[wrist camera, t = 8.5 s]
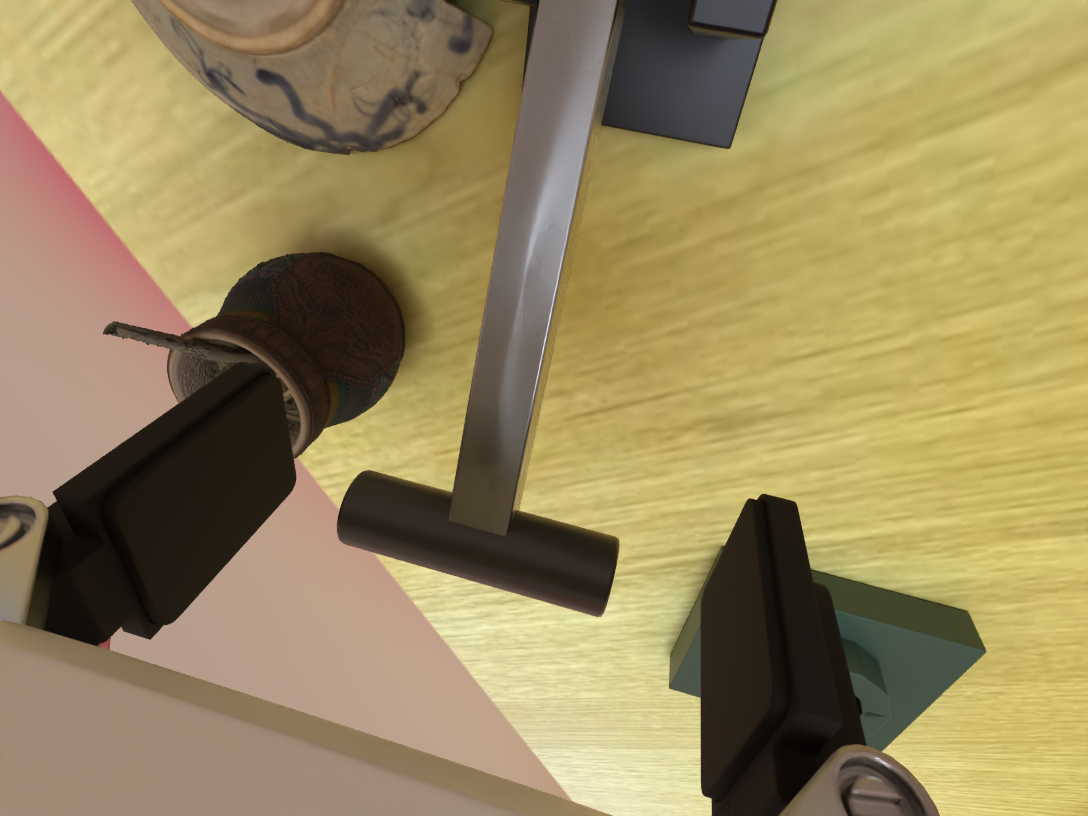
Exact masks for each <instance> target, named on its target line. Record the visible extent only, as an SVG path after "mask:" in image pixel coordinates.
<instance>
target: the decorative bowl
mask: <svg viewBox="0 0 1088 816" xmlns="http://www.w3.org/2000/svg"><path fill="white" fill-rule="evenodd" d="M132 2H133V3H134V5H135V7H136V8H137V9H138V11H139V12H140V14H141V15H142V17H143V18H144V19H145V21H146V22H147V23H148V25H149V26H150V27H151V29H152V30H153V31H154V33H155V34H156V35H157V36H158V38H159V39H160V40H161V41H162V42H163V44H164V45H165V46H166V47H167V48H168V50H169V51H170V52H171V53H172V54H173V55H174V56H175V57H176V58H177V59H178V60H179V61H180V63H181V64H182V65H183V66H184V67H185V68H186V69H187V70H188V71H189V72H190V73H191V74H192V75H193V76H194V77H195V78H196V79H198V80H199V81H200V82H201V83H202V84H203V85H204V86H205V87H206V88H208V89H209V90H210V91H211V92H212V93H213V94H214V95H216V96H217V97H218V98H219V99H221V100H222V101H223V102H224V103H226V104H227V105H229V106H230V107H231V108H233V109H234V110H235V111H237V112H238V113H240V114H241V115H243V116H244V117H246V118H247V119H249V120H250V121H252V122H253V123H255V124H256V125H258V126H259V127H260V128H262V129H264V130H266V131H267V132H269V133H271V134H273V135H274V136H276V137H278V138H280V139H283V140H285V141H286V142H287V143H292V144H294V145H297V146H300V147H302V148H305V149H310V150H316V151H321V152H328V153H335V154H347V155H349V154H350V150H349V149H354V150H356V151H361V152H365V151H378V150H379V149H385V148H389V147H392V146H394V145H396V144H399V143H402V142H405V141H408V140H410V139H411V138H413V137H414V136H416V135H417V134H418V133H419V132H420V131H421V130H423V129H424V128H425V127H427V126H428V125H429V124H430V123H431V122H432V121H433V120H435V119H436V118H438V117H440V116H441V115H443V113H444V112H445V109H446V108H447V106H448V105H450V103H451V101H452V99H453V98H454V97H455V96H456V95H458V94H459V86H460V81H462V80H466V79H467V78H468V77H469V76H471V75H472V74H473V72H474V70H475V68H476V67H477V65H478V63H479V61H480V60H481V59H482V56H483V54H484V53H485V51H486V48H487V44H488V43H489V40H490V39H491V37H492V35H493V28H492V26H491V25H488V24H487V23H485V22H483V21H482V20H479V19H478V18H476V17H473V16H472V15H470V14H468V13H466V12H465V11H463V10H462V9H460V8H458V7H457V6H455V5H453V4H451V3H449V2H447V1H445V0H132Z"/></svg>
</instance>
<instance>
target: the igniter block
mask: <svg viewBox="0 0 1088 816" xmlns="http://www.w3.org/2000/svg"><path fill="white" fill-rule="evenodd" d="M723 549H724V547H722V548H721V550H720V552H719V554H718V556H717V559H716V561H715V563H714V565H713V567H712V569H711V571H710V573H709V575H708V577H707V579H706V582H705V584H704V586H703V588H702V590H701V592H700V594H699V596H698V598H697V600H696V603H695V605H694V607H693V609H692V611H691V613H690V615H689V617H688V619H687V621H686V624H685V626H684V628H683V630H682V632H681V634H680V636H679V638H678V640H677V642H676V645H675V647H674V649H673V651H672V653H671V655H670V673H669V688H670V689H673V690H676V691H680V692H683V693H686V694H690V695H693V696H696V697H700V698H701V613H700V609H701V599H702V595H703V591H704V589H705V586H706V584H707V582H708V580H709V578H710V576H711V574H712V572H713V570H714V568H715V566H716V563H717V561H718V559H719V557H720V555H721V553H722V551H723ZM811 573H812V578H813V582H815V583H819V584H823V585H825V586H826V587H827V589H828V590H829V592H830V595H831V597H832V601H833V605H834V610H835V614H836V618H837V622H838V627H839V631H840V635H841V639H842V643H843V648H844V652H845V656H846V660H847V664H848V669H849V673H850V677H851V681H852V685H853V690H854V694H855V698H856V702H857V707H858V711H859V715H860V719H861V723H862V728H863V732H864V736H865V740H866V744H867V746H868V747H873V748H875V749H877V750H879V751H883V750H884V749H885V748H886V747H887V746H888V745H889V744H890V743H891V742H892V741H893V740H894V739H895V738H896V737H898V736H899V735H900V734H901V733H902V732H903V731H904V730H905V729H906V728H907V727H908V726H909V725H910V724H911V723H912V722H913V721H914V720H915V719H916V718H918V717H919V716H920V715H921V714H922V713H923V712H924V711H925V710H926V709H927V708H928V707H929V706H930V705H931V704H932V703H933V702H934V701H935V700H936V699H938V698H939V697H940V696H941V695H942V694H943V693H944V692H945V691H946V690H947V689H948V688H949V687H950V686H951V685H952V684H953V683H954V682H955V681H956V680H958V679H959V678H960V677H961V676H962V675H963V674H964V673H965V672H966V671H967V670H968V669H969V668H970V667H971V666H972V665H973V664H974V663H975V662H976V661H978V660H979V659H980V658H981V657H982V656H983V655H984V654H985V653H986V649H985V647H984V645H983V642H982V640H981V638H980V636H979V634H978V632H977V630H976V628H975V625H974V623H973V621H972V619H971V617H970V615H969V613H968V612H966V611H962V610H958V609H954V608H951V607H947V606H943V605H939V604H936V603H932V602H928V601H924V600H921V599H917V598H913V597H910V596H906V595H902V594H898V593H895V592H891V591H887V590H883V589H880V588H876V587H872V586H868V585H865V584H861V583H857V582H853V581H850V580H846V579H842V578H838V577H835V576H831V575H827V574H823V573H820V572H816V571H812V570H811Z"/></svg>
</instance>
